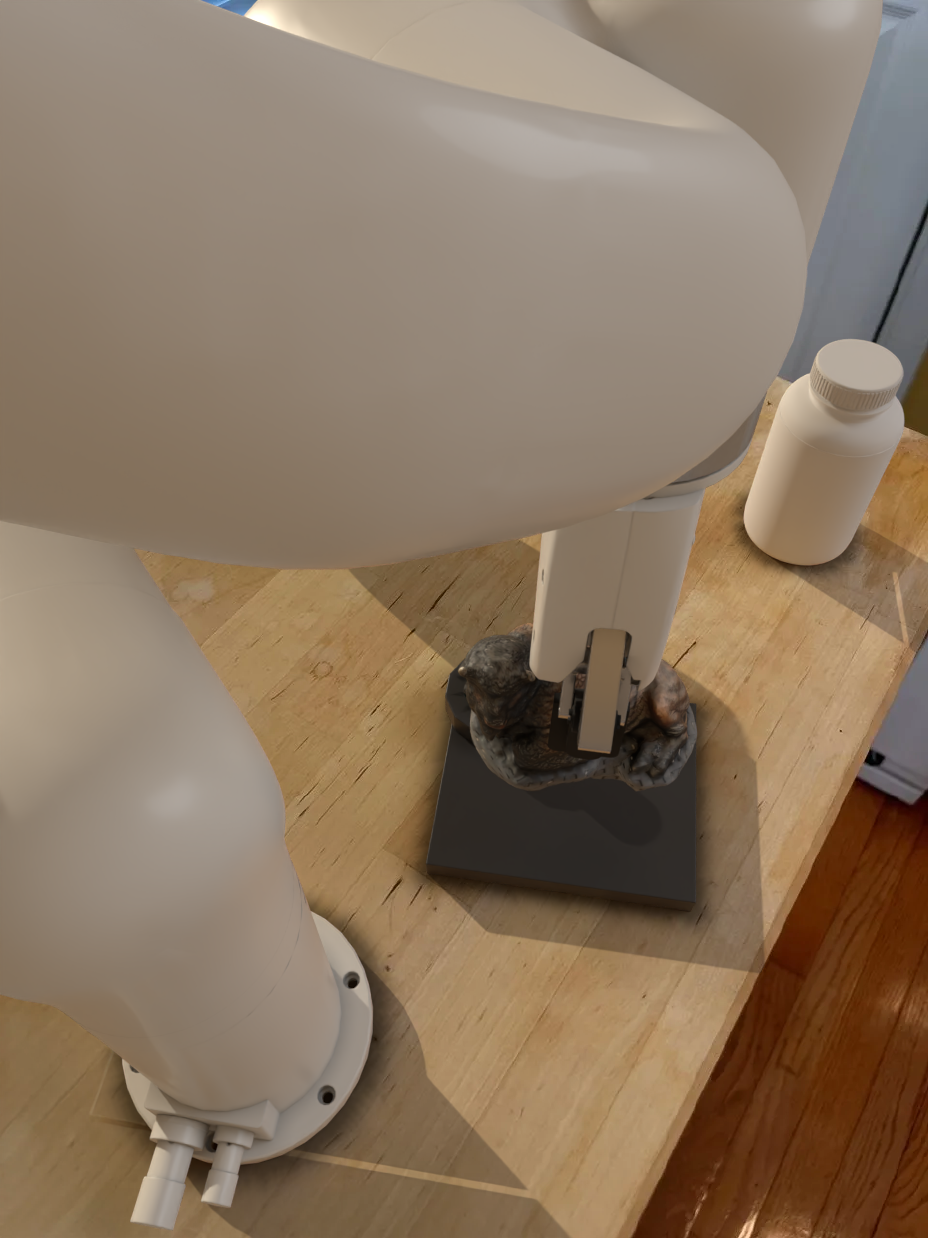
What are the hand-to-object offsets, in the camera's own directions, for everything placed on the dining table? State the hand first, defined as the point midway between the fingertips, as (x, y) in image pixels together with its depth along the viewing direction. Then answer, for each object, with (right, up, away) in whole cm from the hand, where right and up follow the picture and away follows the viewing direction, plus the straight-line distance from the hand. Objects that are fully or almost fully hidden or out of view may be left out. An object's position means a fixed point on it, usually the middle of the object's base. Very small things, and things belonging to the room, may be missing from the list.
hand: (587, 688), depth 45 cm
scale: (0, -7, +12) cm, 14 cm away
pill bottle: (+19, +10, +26) cm, 33 cm away
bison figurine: (0, -4, +4) cm, 6 cm away
